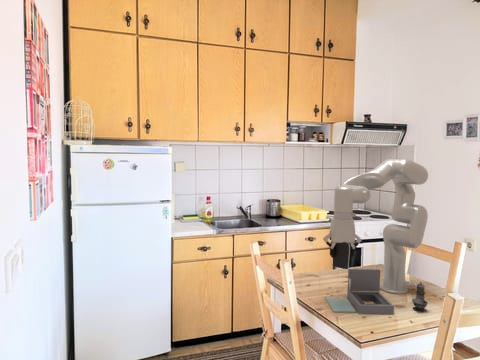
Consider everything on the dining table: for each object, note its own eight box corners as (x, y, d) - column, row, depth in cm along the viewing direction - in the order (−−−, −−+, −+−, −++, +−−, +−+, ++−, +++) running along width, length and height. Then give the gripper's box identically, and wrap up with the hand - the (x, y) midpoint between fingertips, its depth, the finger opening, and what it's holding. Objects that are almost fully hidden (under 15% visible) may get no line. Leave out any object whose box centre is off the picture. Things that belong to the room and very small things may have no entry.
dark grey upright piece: (409, 306, 151) (410, 279, 150) (423, 306, 151) (424, 279, 150) (415, 312, 145) (417, 284, 144) (430, 313, 145) (431, 284, 144)
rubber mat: (345, 299, 158) (345, 297, 158) (355, 312, 144) (355, 311, 144) (325, 298, 158) (325, 297, 158) (333, 312, 144) (333, 310, 144)
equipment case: (378, 298, 159) (379, 269, 158) (393, 314, 143) (395, 281, 142) (347, 298, 159) (348, 268, 158) (359, 313, 143) (360, 281, 142)
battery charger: (351, 268, 149) (352, 241, 149) (347, 270, 146) (349, 243, 146) (335, 264, 154) (336, 238, 153) (331, 266, 151) (333, 240, 150)
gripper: (360, 214, 152) (359, 255, 153) (320, 214, 152) (319, 254, 153) (366, 217, 145) (365, 260, 146) (324, 217, 145) (323, 259, 146)
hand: (341, 257), depth 150 cm, fingers closed on battery charger, 7 cm apart
